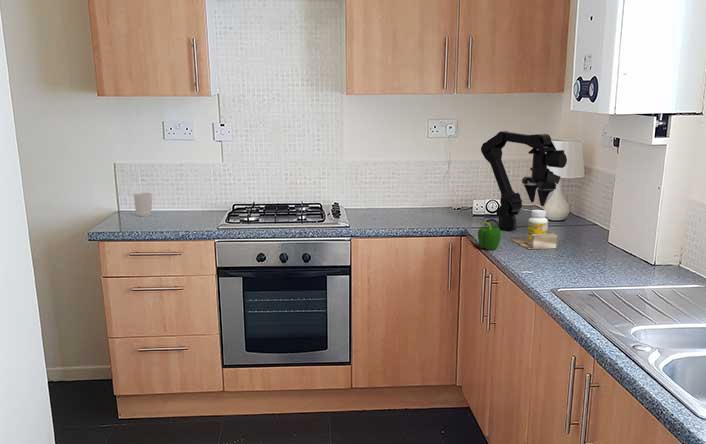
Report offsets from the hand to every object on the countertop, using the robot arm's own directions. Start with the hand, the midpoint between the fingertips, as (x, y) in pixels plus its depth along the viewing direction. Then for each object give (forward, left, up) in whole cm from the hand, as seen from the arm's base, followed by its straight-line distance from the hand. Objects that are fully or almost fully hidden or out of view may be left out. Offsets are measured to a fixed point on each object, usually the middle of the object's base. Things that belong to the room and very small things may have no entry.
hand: (537, 204), depth 248 cm
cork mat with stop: (+6, -16, -13) cm, 21 cm away
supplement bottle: (+7, -16, -13) cm, 22 cm away
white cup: (-158, -80, -13) cm, 178 cm away
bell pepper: (-4, -33, -13) cm, 36 cm away
